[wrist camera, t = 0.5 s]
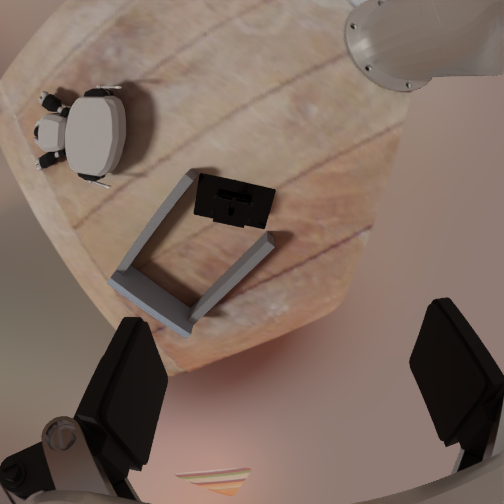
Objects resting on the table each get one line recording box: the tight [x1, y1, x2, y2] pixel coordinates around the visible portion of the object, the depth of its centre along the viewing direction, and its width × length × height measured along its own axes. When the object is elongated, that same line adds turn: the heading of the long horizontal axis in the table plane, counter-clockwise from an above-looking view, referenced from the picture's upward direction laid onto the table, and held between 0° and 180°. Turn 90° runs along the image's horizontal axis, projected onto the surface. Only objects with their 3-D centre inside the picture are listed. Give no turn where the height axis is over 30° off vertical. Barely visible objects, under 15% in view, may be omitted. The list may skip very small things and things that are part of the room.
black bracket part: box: [194, 173, 276, 229], centre depth 35 cm, size 12×7×5 cm, turn 77°
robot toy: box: [34, 86, 126, 188], centre depth 31 cm, size 12×4×15 cm
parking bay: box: [107, 169, 275, 338], centre depth 38 cm, size 18×14×5 cm
